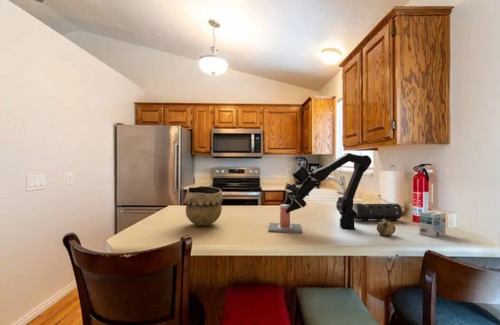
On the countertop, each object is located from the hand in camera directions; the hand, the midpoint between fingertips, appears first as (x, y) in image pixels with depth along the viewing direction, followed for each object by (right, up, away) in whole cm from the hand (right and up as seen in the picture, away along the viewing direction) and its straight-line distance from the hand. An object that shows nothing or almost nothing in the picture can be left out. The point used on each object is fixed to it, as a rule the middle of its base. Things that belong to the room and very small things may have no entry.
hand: (284, 210), depth 135 cm
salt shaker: (+1, -8, 0) cm, 8 cm away
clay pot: (-42, -9, +5) cm, 43 cm away
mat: (0, -9, 0) cm, 9 cm away
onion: (+47, -10, -9) cm, 49 cm away
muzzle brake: (+56, -10, +21) cm, 61 cm away
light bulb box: (+71, -10, -7) cm, 72 cm away
